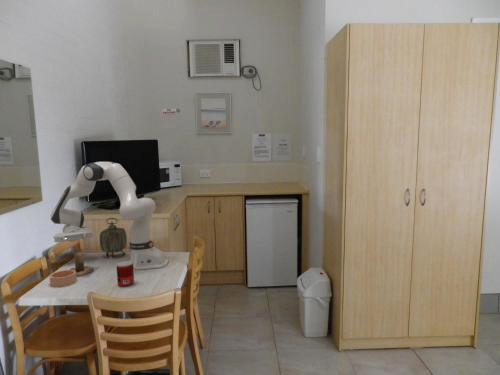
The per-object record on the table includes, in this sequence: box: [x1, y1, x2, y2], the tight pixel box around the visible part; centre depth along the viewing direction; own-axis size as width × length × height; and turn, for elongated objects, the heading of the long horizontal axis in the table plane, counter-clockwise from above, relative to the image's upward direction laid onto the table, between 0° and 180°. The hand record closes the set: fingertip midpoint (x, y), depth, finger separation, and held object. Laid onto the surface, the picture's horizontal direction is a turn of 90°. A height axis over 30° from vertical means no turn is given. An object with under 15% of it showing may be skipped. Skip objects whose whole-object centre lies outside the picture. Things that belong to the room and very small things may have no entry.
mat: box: [70, 266, 100, 278], centre depth 201 cm, size 16×16×1 cm
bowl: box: [48, 269, 78, 288], centre depth 185 cm, size 12×12×5 cm
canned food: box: [116, 260, 135, 288], centre depth 182 cm, size 8×8×11 cm
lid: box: [69, 251, 94, 278], centre depth 200 cm, size 14×14×11 cm
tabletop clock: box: [99, 217, 128, 258], centre depth 228 cm, size 14×9×25 cm, turn 91°
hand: (74, 238), depth 209 cm, fingers open, 8 cm apart
